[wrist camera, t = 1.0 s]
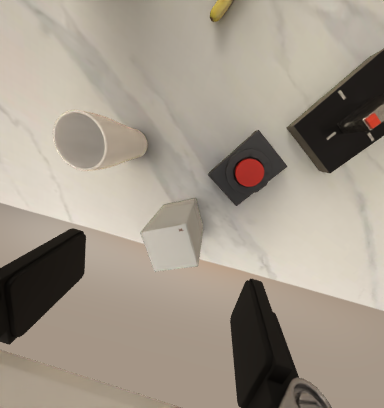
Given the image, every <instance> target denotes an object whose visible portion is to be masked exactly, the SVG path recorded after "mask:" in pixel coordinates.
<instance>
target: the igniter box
mask: <svg viewBox="0 0 384 408" xmlns="http://www.w3.org/2000/svg"><path fill="white" fill-rule="evenodd" d="M244 159H254V160H257V161H259V162H260V163H261V164H262V165H263V168H264V176H263V179H262V180H261V181H260V183H258V184H257V185H255V186H252V187H246V186H243V185H241V184H240V183H239V182H238V181H237V179H236V177H235V169H236V166H237V165H238V163H239V162H241V161H242V160H244ZM286 167H287V165H286V164H285V163H284V161H283V160H282V159H281V158H280V156H279V155H278V154H277V153H276V151H275V150H274V149H273V148H272V146H271V145H270V144H269V143H268V141H267V140H266V139H265V138H264V136H263V135H262V134H261V133H260V131H259V130H257V131H255V132H254V133H253V134H252V135H251V136H250V137H248V138H247V139H246V140H245V141H244V142H243V143H242V144H241V145H240V146H238V147H237V148H236V149H235V150H234V151H233V152H232V153H231V154H229V155H228V156H227V157H226V158H225V159H224V160H223V161H222V162H221V163H219V164H218V165H217V166H216V167H215V168H214V169H213V170H212V171H211V172H209V174H208V175H209V176H210V177H211V179H212V180H213V181H214V182H215V183H216V184H217V185H218V186H219V188H220V189H221V190H222V191H223V192H224V193H225V194H226V195H227V196H228V198H229V199H230V200H231V201H232V202H233V203H234V204H235V205H236V206H237V205H239V204H240V203H241V202H242V201H244V200H245V199H246V198H248V197H249V196H250V195H251V194H253V193H254V192H258V191H259V190H260V189H262V188H263V187H264V186H265V185H267V183H268V181H270V180H271V179H272V178H273V177H275V176H276V175H277V174H279V173H280V172H281V171H282V170H284V169H285V168H286Z"/></svg>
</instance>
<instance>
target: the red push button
mask: <svg viewBox="0 0 384 408" xmlns="http://www.w3.org/2000/svg"><path fill="white" fill-rule="evenodd" d="M263 176H264V168H263V165H262V164H261V163H260V162H259V161H257V160H254V159H244V160H242V161H241V162H239V163H238V165H237V166H236V169H235V177H236V179H237V181H238V182H239V183H240V184H241V185H243V186H246V187H252V186H255V185H257V184H258V183H260V181H261V180H262V179H263Z"/></svg>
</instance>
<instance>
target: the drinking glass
mask: <svg viewBox="0 0 384 408" xmlns="http://www.w3.org/2000/svg"><path fill="white" fill-rule="evenodd" d="M53 139H54V144H55V147H56V149H57V151H58V153H59V155H60V156H61V158H62V159H63V160H64V161H65V162H66V163H67V164H68V165H70V166H71V167H73V168H75V169H78V170H82V171H91V170H99V169H104V168H109V167H112V166H115V165H118V164H121V163H123V162H126V161H129V160H132V159H135V158H139V157H141V156H143V155H144V154H145V152H146V150H147V140H146V137H145V136H144V134H143V133H142V132H140V131H139V130H137V129H133V128H130V127H128V126H126V125H123V124H121V123H119V122H116V121H114V120H112V119H110V118H107V117H104V116H101V115H98V114H94V113H90V112H85V111H80V110H70V111H67V112H65V113H63V114H62V115H61V116H60V117H59V118H58V119H57V121H56V123H55V125H54V130H53Z"/></svg>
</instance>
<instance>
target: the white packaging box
mask: <svg viewBox="0 0 384 408" xmlns="http://www.w3.org/2000/svg"><path fill="white" fill-rule="evenodd" d="M140 234H141V236H142V239H143V242H144V244H145V247H146V250H147V253H148V255H149V258H150V261H151V263H152V266H153V269H154V271H155V272H156V271H164V270H171V269H179V268H187V267H197V266H198V263H199V257H200V249H201V242H202V234H203V224H202V220H201V216H200V212H199V208H198V205H197V201H196V198H194V199H189V200H184V201H179V202H174V203H170V204H165V205H163V206H162V207H161V208H160V210H159V211H158V212H157V213H156V214H155V216H154V217H153V218H152V219H151V220H150V221H149V223H148V224H147V225H146V226H145V227H144V229H143V230H142V231H141V232H140Z"/></svg>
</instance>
